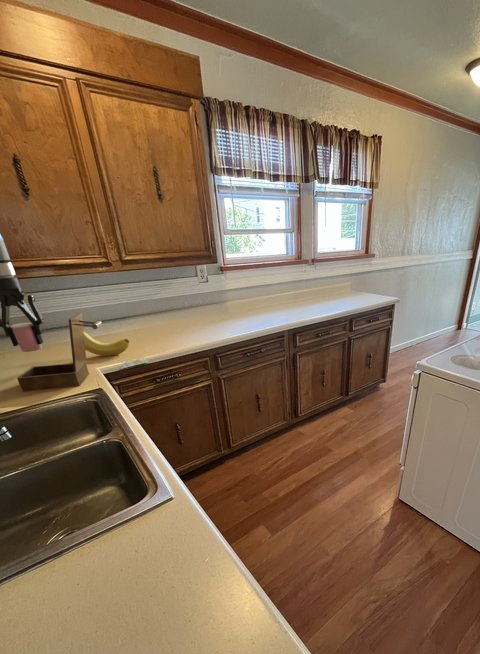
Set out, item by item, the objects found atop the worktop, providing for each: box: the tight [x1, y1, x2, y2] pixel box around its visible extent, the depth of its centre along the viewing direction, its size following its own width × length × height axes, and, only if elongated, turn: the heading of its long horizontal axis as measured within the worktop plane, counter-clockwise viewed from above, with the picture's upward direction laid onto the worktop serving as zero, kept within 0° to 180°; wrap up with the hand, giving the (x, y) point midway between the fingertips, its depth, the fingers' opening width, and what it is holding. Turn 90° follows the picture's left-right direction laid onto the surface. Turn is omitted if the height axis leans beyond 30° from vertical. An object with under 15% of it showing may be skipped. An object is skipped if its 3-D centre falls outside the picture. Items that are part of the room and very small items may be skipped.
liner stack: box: [9, 322, 43, 353], centre depth 117 cm, size 6×6×9 cm
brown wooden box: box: [16, 361, 90, 392], centre depth 131 cm, size 20×13×6 cm, turn 105°
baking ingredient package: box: [119, 357, 149, 370], centre depth 152 cm, size 9×1×15 cm
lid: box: [68, 312, 103, 372], centre depth 129 cm, size 20×13×8 cm
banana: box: [84, 331, 130, 357], centre depth 160 cm, size 23×6×20 cm, turn 111°
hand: (28, 344), depth 118 cm, fingers open, 7 cm apart
